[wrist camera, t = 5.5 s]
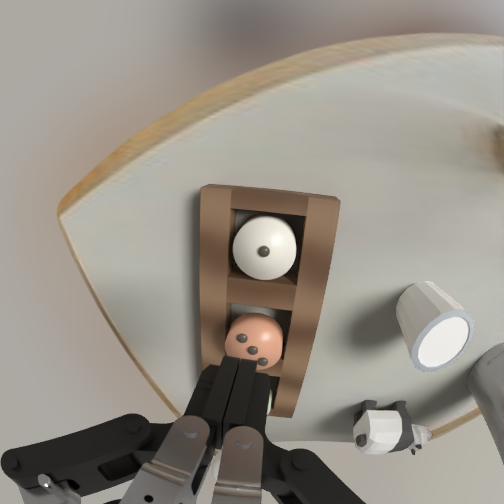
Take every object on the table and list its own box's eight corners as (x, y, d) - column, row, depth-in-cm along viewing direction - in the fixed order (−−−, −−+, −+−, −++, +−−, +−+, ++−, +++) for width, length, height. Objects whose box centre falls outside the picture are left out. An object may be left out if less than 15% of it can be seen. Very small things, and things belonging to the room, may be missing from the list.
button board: (292, 403, 32) (291, 417, 29) (209, 391, 33) (204, 405, 30) (335, 196, 23) (340, 201, 20) (209, 184, 24) (201, 187, 21)
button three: (279, 357, 26) (277, 374, 23) (229, 350, 26) (223, 366, 24) (286, 316, 24) (285, 332, 22) (230, 309, 24) (224, 323, 22)
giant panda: (345, 417, 32) (350, 463, 24) (359, 397, 30) (368, 446, 23) (413, 418, 31) (425, 458, 23) (429, 399, 29) (444, 440, 22)
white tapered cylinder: (378, 308, 26) (397, 351, 19) (426, 261, 23) (459, 294, 17) (409, 341, 26) (429, 382, 20) (453, 300, 24) (483, 335, 18)
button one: (291, 272, 24) (291, 284, 22) (236, 265, 25) (231, 276, 23) (298, 217, 23) (299, 224, 20) (239, 211, 23) (234, 217, 21)
